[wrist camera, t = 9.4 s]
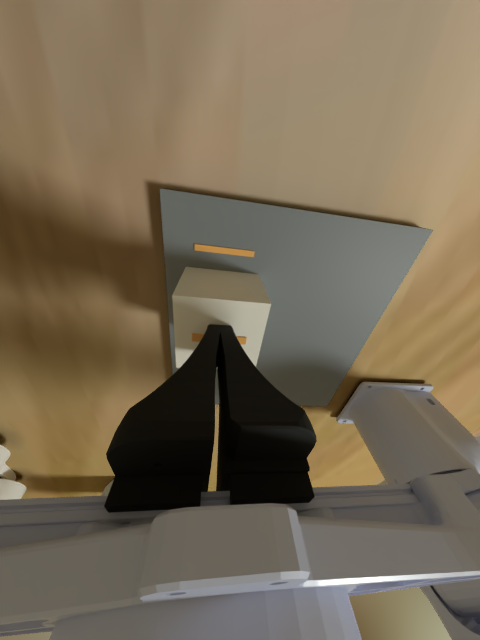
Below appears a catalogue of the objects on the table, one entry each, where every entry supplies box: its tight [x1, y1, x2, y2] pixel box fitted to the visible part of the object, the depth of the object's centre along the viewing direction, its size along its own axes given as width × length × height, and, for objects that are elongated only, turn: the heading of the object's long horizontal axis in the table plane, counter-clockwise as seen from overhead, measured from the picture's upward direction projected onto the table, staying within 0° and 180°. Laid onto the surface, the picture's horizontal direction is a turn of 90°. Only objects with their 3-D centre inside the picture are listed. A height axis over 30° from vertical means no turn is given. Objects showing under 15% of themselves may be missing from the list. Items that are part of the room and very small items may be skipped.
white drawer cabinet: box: [172, 267, 271, 368], centre depth 14 cm, size 5×5×5 cm
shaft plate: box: [160, 188, 433, 406], centre depth 17 cm, size 18×20×4 cm
